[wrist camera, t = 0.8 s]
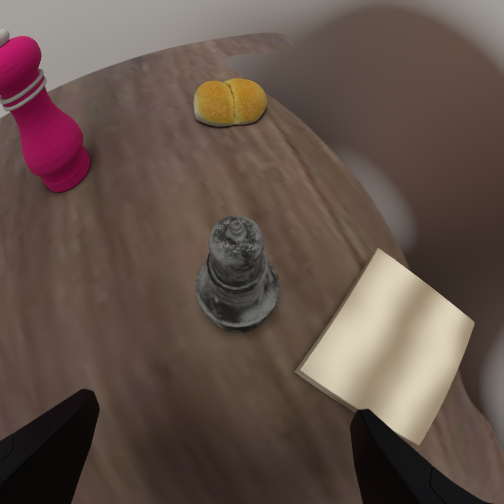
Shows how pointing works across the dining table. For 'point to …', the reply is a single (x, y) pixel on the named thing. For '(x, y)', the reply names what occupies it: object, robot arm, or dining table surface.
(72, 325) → the dining table surface
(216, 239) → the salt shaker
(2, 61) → the pepper mill
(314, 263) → the dining table surface
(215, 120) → the bread roll
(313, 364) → the plate
